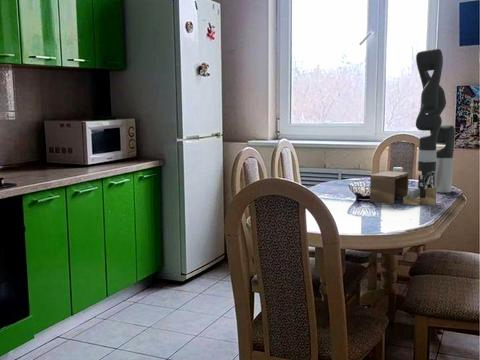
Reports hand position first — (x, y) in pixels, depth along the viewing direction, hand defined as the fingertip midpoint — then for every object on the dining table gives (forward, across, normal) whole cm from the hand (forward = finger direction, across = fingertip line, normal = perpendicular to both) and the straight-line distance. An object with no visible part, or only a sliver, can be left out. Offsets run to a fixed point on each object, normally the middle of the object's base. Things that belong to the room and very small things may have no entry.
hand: (425, 196), depth 241 cm
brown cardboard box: (+3, 0, -16) cm, 17 cm away
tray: (+3, 0, -2) cm, 4 cm away
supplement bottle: (+3, -20, -20) cm, 29 cm away
